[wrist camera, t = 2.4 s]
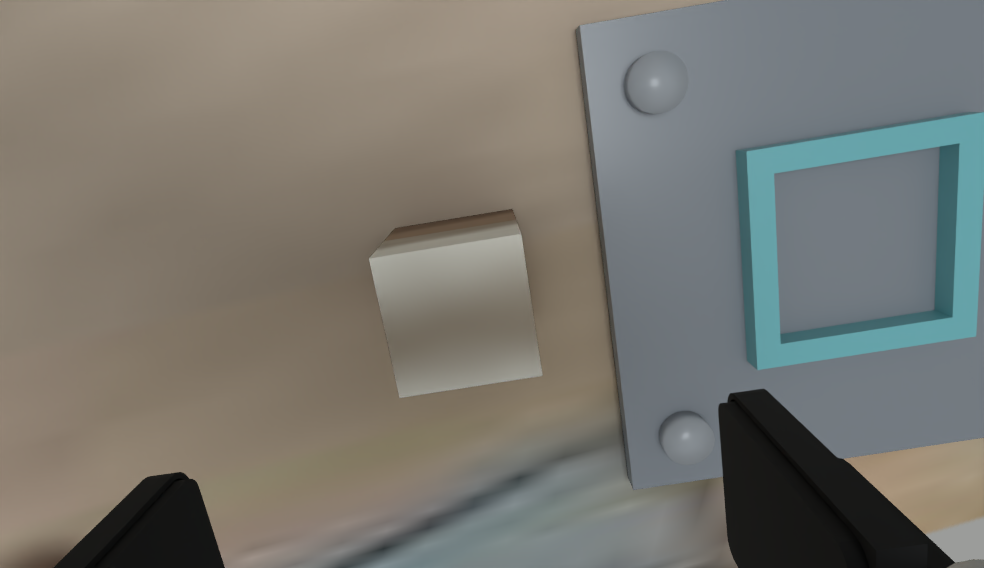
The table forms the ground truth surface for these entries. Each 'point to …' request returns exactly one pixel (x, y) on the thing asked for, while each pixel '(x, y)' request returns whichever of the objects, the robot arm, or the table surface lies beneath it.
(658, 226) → the baseplate
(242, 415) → the table surface
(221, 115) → the table surface
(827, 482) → the robot arm
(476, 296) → the smooth beige block
